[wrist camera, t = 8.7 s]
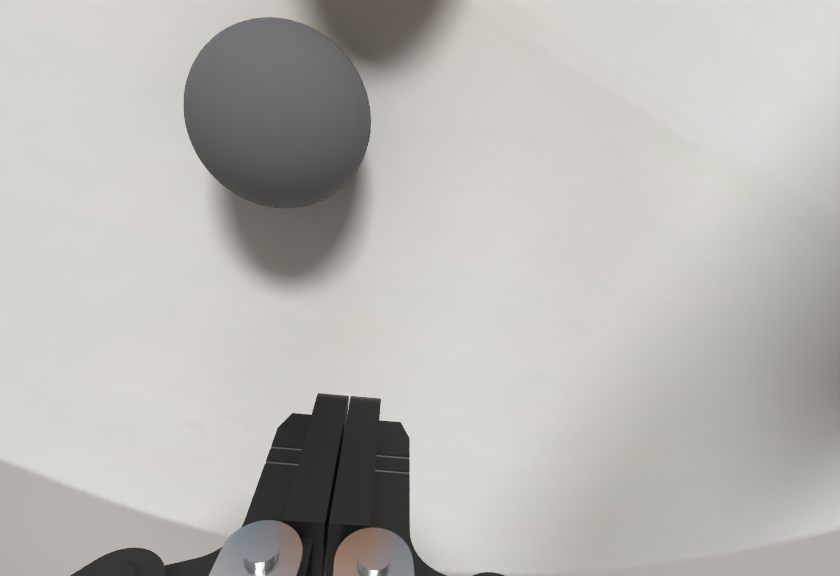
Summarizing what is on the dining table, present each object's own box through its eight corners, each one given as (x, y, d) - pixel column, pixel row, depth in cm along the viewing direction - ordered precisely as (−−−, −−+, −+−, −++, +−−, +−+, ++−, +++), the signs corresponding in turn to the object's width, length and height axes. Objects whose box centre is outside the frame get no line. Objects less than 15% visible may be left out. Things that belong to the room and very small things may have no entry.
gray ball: (316, 230, 13) (417, 176, 17) (246, -9, 11) (382, -4, 15) (186, 234, 16) (300, 186, 20) (110, 45, 13) (256, 37, 18)
